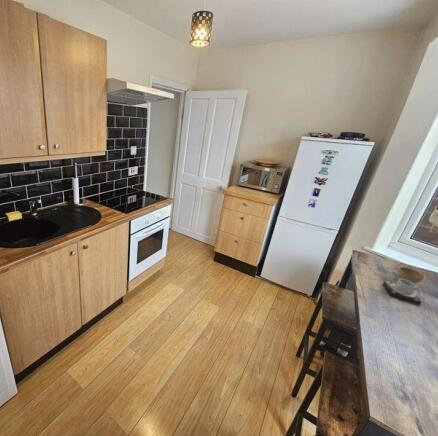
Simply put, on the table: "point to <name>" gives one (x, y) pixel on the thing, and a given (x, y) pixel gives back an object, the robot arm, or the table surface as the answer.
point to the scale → (401, 294)
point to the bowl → (405, 286)
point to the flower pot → (410, 275)
